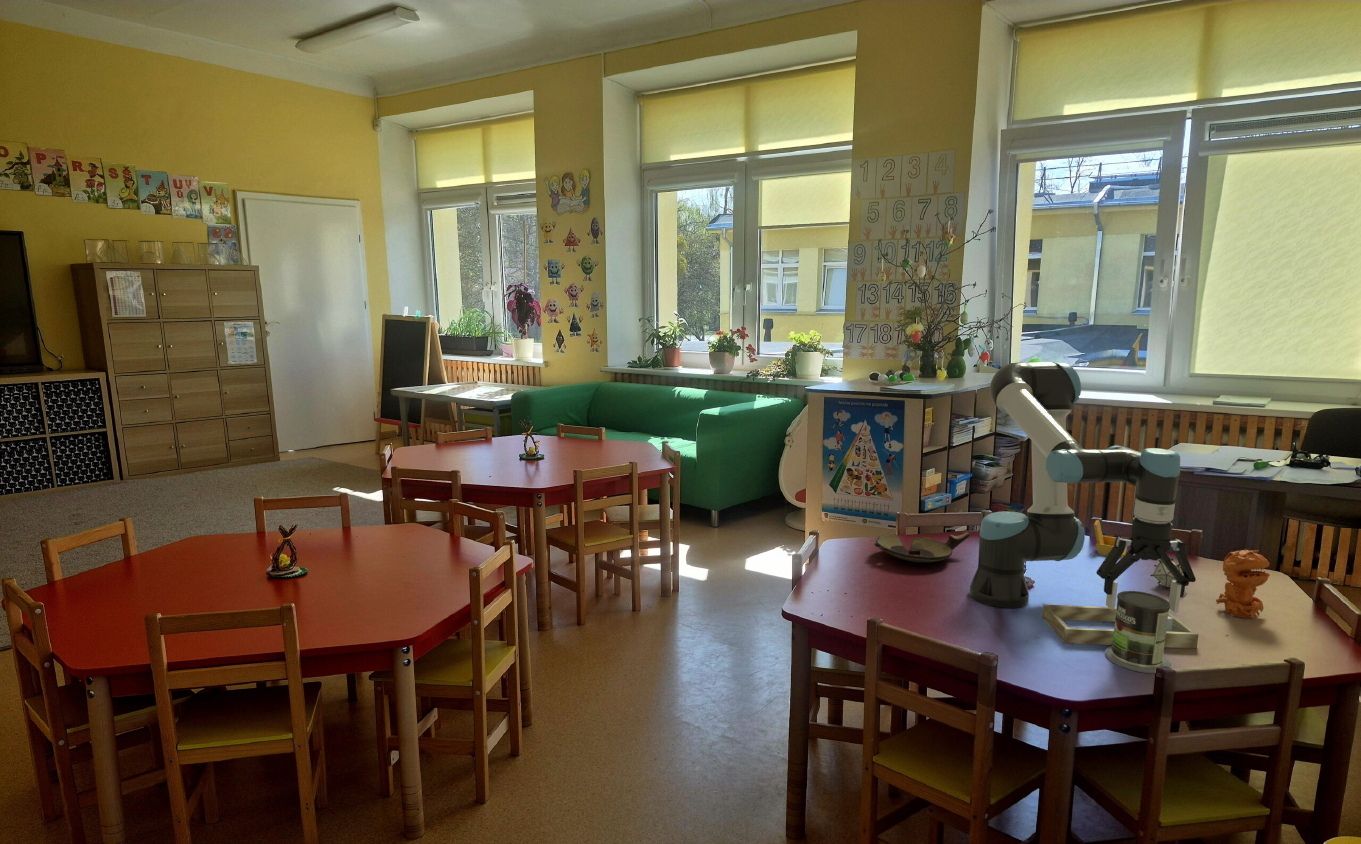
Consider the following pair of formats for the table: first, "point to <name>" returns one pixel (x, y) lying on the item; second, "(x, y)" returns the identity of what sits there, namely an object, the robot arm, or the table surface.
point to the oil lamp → (920, 547)
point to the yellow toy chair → (1104, 541)
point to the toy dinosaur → (1243, 583)
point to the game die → (1165, 574)
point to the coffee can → (1140, 629)
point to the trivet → (1131, 667)
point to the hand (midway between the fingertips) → (1141, 608)
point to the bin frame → (1056, 613)
